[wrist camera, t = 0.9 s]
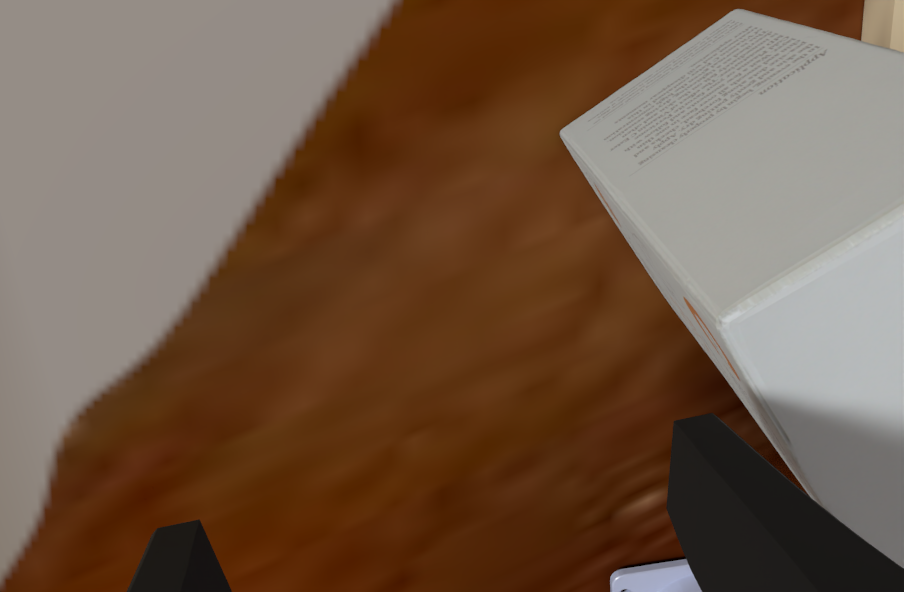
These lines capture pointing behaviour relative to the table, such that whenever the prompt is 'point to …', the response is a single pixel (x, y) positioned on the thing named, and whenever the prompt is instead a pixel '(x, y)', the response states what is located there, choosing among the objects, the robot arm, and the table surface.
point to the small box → (777, 238)
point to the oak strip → (884, 23)
